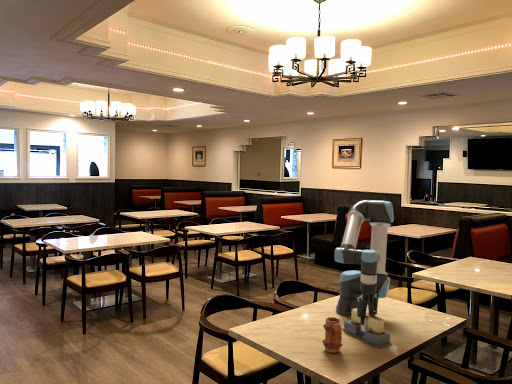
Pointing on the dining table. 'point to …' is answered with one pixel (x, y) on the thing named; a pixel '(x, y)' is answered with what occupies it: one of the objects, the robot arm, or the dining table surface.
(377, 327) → the tan wooden block
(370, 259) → the robot arm
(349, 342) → the dining table surface
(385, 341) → the grey double socket base
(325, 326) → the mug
